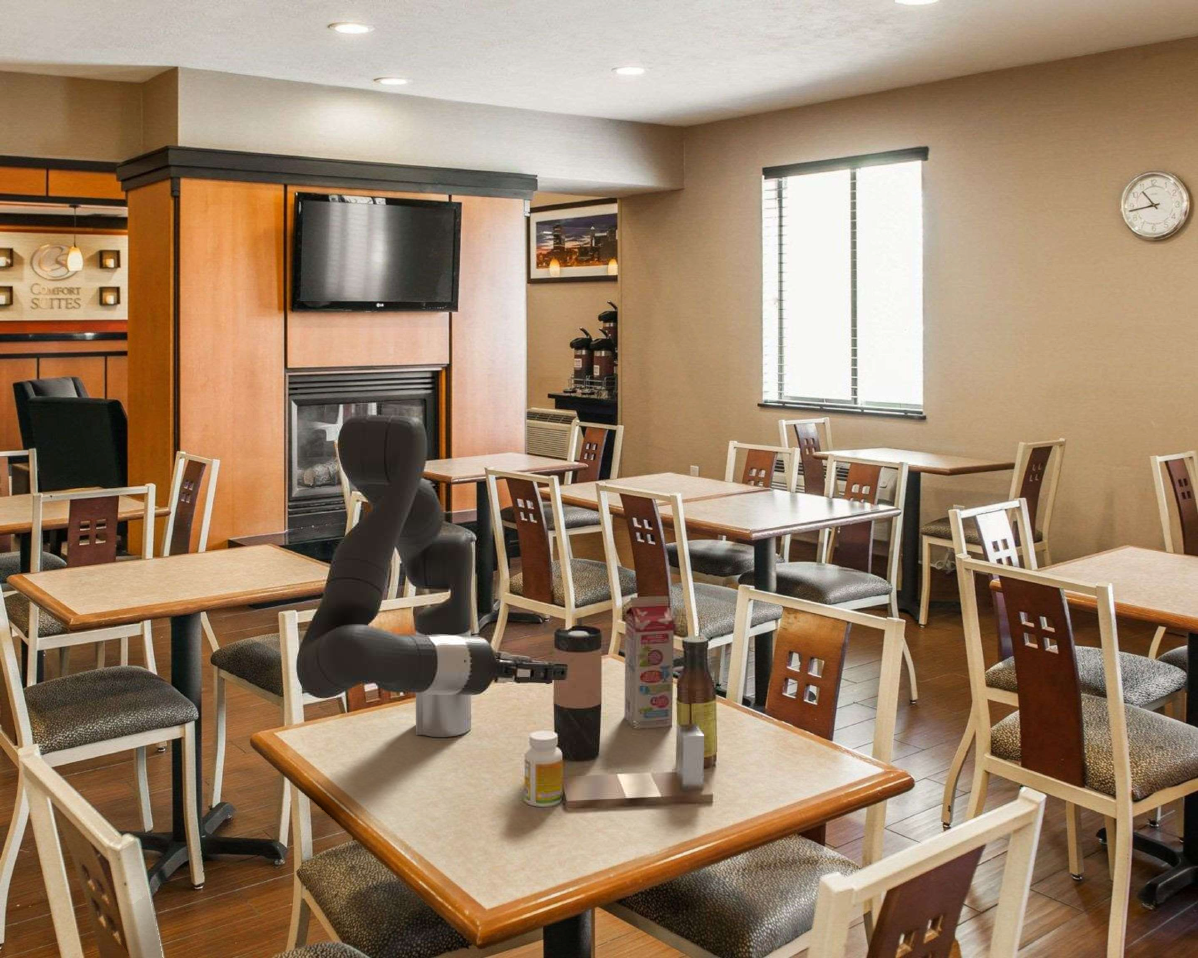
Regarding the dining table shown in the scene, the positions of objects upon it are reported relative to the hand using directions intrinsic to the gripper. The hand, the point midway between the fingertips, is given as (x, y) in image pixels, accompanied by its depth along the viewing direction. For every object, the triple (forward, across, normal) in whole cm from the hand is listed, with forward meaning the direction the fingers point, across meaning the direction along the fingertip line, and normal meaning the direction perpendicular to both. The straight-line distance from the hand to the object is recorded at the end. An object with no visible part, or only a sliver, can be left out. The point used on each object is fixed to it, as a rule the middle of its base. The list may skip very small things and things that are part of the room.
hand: (544, 667), depth 157 cm
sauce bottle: (+35, 0, +14) cm, 38 cm away
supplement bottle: (+8, +6, +20) cm, 22 cm away
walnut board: (+19, -2, +18) cm, 26 cm away
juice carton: (+43, +19, +11) cm, 48 cm away
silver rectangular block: (+25, -6, +15) cm, 30 cm away
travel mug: (+24, +16, +16) cm, 33 cm away
